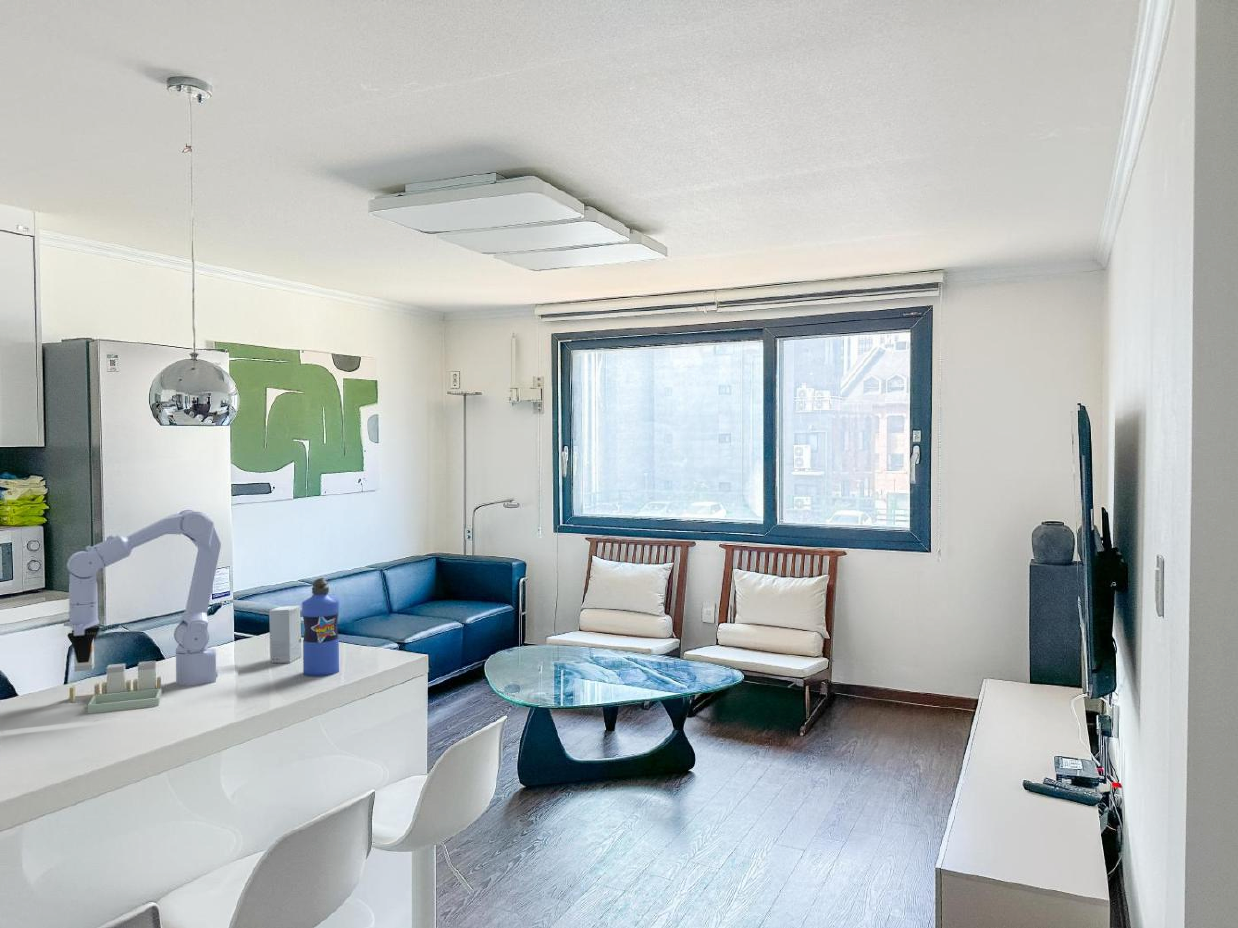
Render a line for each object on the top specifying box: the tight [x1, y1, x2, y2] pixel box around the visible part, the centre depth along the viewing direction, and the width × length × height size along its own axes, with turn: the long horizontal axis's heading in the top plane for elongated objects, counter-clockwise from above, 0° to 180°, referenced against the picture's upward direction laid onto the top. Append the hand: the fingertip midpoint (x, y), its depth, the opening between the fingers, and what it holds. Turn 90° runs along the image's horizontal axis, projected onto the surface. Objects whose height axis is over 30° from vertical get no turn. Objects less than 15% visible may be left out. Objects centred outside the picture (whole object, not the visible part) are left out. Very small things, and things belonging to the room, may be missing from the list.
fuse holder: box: [64, 676, 165, 705], centre depth 209 cm, size 20×6×4 cm, turn 113°
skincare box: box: [268, 605, 303, 664], centre depth 247 cm, size 8×6×15 cm
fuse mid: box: [105, 663, 127, 694], centre depth 209 cm, size 4×4×7 cm
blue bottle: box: [301, 577, 340, 678], centre depth 233 cm, size 9×9×25 cm
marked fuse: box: [73, 639, 95, 672], centre depth 206 cm, size 4×4×7 cm
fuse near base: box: [137, 660, 157, 691], centre depth 211 cm, size 4×4×7 cm
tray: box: [87, 688, 163, 714], centre depth 201 cm, size 14×9×3 cm, turn 113°
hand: (84, 660), depth 206 cm, fingers closed on marked fuse, 3 cm apart
